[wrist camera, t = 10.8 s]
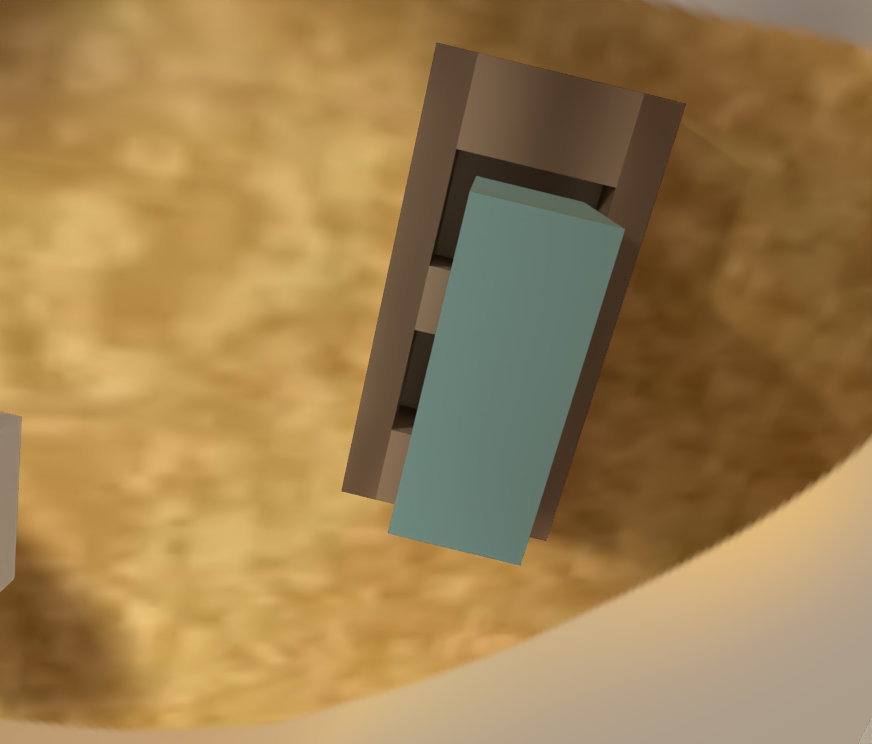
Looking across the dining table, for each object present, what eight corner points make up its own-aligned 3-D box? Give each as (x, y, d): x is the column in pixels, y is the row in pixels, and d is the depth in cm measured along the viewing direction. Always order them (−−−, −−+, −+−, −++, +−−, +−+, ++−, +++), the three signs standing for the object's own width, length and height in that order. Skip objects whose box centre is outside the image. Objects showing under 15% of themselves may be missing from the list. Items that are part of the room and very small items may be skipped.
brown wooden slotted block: (357, 452, 35) (341, 491, 31) (443, 55, 29) (436, 42, 26) (540, 497, 35) (546, 541, 31) (660, 108, 29) (685, 103, 26)
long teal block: (423, 396, 33) (387, 533, 21) (477, 171, 30) (469, 191, 18) (510, 417, 33) (520, 565, 21) (573, 195, 30) (625, 229, 18)
